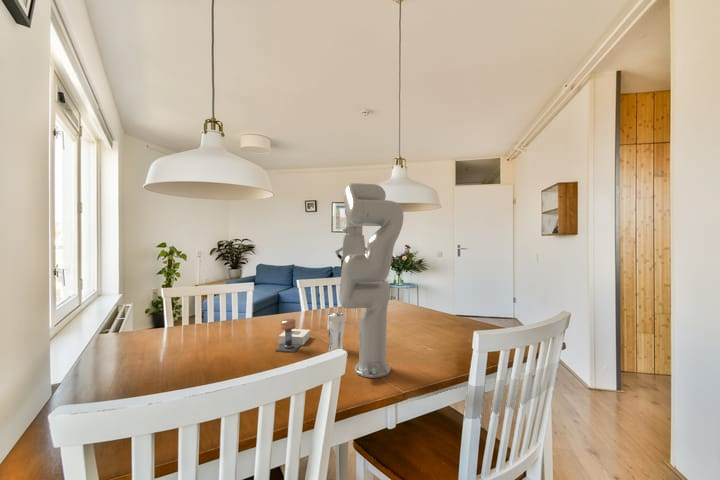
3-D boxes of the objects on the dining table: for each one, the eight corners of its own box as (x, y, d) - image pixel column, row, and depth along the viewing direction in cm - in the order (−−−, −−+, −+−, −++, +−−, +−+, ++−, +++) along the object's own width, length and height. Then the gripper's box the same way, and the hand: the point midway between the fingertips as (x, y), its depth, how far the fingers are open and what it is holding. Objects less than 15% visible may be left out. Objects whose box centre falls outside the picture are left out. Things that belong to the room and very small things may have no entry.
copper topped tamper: (293, 349, 127) (292, 322, 127) (279, 349, 128) (278, 322, 128) (297, 344, 133) (297, 319, 133) (284, 344, 134) (283, 318, 134)
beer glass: (333, 346, 133) (333, 311, 133) (347, 349, 130) (347, 313, 130) (323, 351, 127) (324, 315, 127) (338, 354, 124) (338, 317, 124)
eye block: (302, 345, 135) (302, 337, 135) (278, 343, 136) (278, 335, 136) (310, 337, 146) (310, 329, 146) (287, 336, 147) (287, 328, 147)
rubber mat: (294, 352, 126) (294, 351, 126) (275, 351, 127) (275, 350, 127) (300, 345, 134) (300, 344, 134) (283, 344, 135) (283, 343, 135)
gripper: (333, 231, 140) (333, 269, 140) (372, 231, 138) (371, 270, 138) (337, 232, 148) (337, 268, 148) (373, 232, 145) (373, 268, 145)
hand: (353, 269), depth 143 cm, fingers open, 9 cm apart
